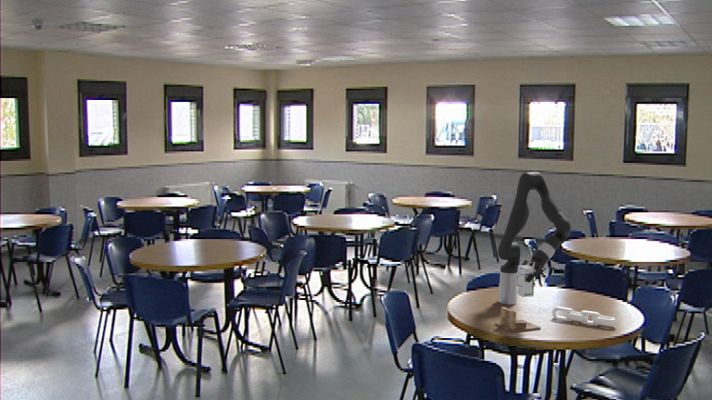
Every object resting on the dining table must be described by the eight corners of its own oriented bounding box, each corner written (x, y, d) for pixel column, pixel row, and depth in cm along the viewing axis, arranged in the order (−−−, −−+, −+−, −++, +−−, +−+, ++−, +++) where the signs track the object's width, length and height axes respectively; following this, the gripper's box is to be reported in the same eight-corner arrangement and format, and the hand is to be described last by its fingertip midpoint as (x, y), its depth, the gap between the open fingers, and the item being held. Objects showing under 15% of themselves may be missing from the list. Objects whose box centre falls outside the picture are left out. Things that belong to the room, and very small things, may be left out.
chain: (550, 319, 347) (551, 307, 346) (554, 316, 352) (554, 305, 352) (613, 329, 332) (614, 317, 331) (616, 326, 337) (616, 314, 337)
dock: (495, 324, 336) (495, 306, 335) (522, 321, 342) (523, 303, 341) (512, 332, 323) (513, 313, 322) (540, 329, 329) (541, 310, 328)
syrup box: (523, 297, 331) (524, 267, 330) (516, 294, 337) (517, 265, 335) (533, 296, 333) (534, 266, 331) (527, 293, 338) (528, 264, 337)
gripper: (529, 246, 342) (509, 271, 338) (549, 251, 329) (528, 277, 325) (537, 256, 345) (517, 281, 341) (557, 261, 332) (536, 288, 328)
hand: (522, 279), depth 333 cm, fingers closed on syrup box, 6 cm apart
